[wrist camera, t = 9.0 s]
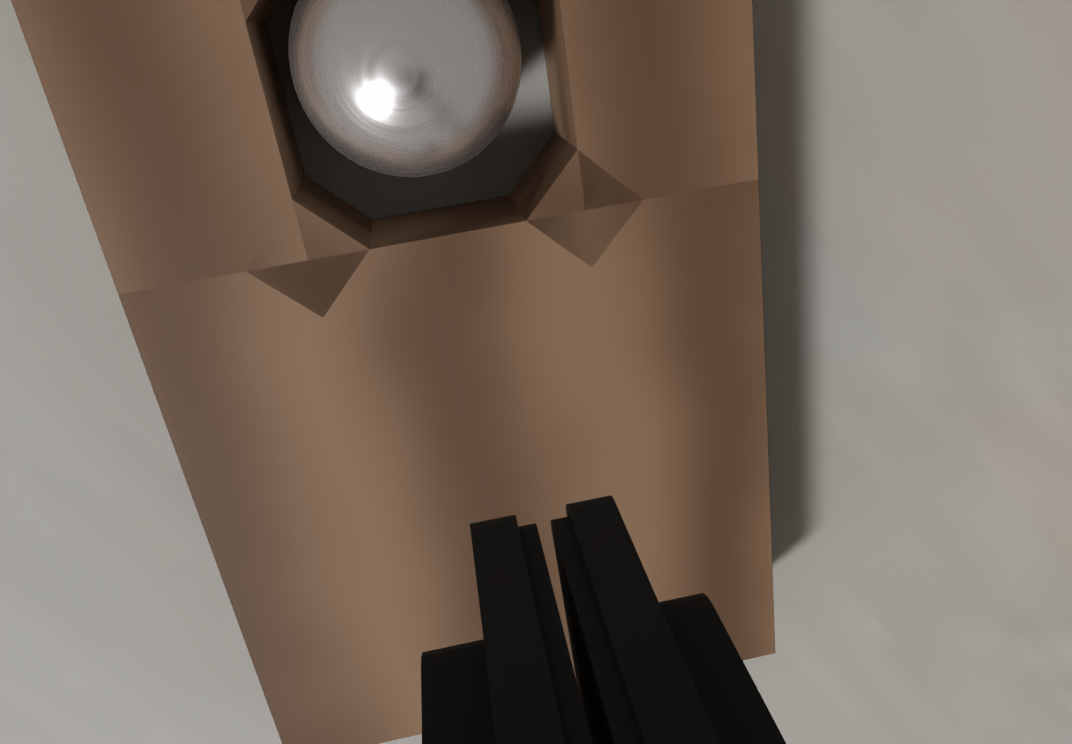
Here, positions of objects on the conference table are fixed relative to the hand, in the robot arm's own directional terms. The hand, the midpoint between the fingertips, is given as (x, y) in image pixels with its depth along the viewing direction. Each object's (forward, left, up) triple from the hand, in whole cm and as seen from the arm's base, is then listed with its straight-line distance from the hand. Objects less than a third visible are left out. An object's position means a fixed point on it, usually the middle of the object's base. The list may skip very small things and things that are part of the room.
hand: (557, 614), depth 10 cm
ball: (0, -6, -12) cm, 13 cm away
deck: (0, +1, -15) cm, 15 cm away
